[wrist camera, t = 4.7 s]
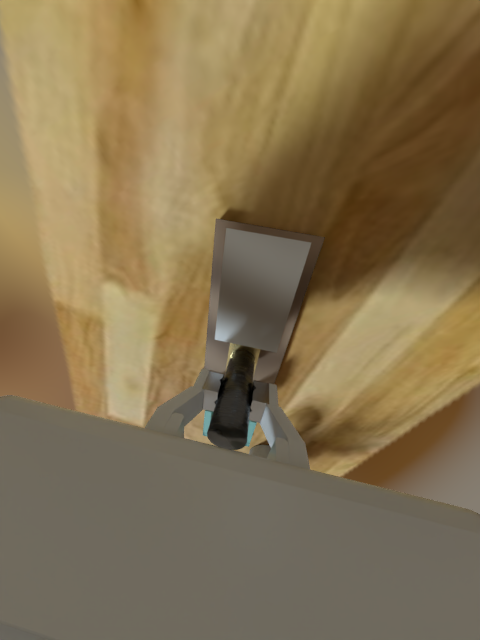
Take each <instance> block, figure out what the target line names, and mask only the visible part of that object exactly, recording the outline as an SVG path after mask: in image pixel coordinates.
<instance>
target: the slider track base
mask: <svg viewBox="0 0 480 640" xmlns="http://www.w3.org/2000/svg"><path fill="white" fill-rule="evenodd" d="M324 239H325V237H320V236H314V235H308V234H303V233H297V232H291V231H285V230H279V229H273V228H268V227H262V226H256V225H250V224H244V223H239V222H233V221H227V220H221V219H216V225H215V237H214V250H213V263H212V276H211V289H210V302H209V315H208V328H207V341H206V354H205V367H204V369H208V370H212V371H216V372H220V373H224V376H225V372H226V365H227V359H228V352H229V346H230V343H233V344H238V345H243V346H247V347H252V348H257V349H261V350H260V353H259V357H258V361H257V365H256V369H255V373H254V376H253V381H254V380H256V381H261V382H266V383H270V384H274V383H275V380H276V377H277V374H278V371H279V368H280V365H281V362H282V360H283V357H284V354H285V351H286V348H287V345H288V342H289V339H290V337H291V334H292V331H293V328H294V325H295V322H296V319H297V316H298V314H299V311H300V308H301V305H302V302H303V299H304V296H305V293H306V290H307V288H308V285H309V282H310V279H311V276H312V273H313V270H314V267H315V265H316V262H317V259H318V256H319V253H320V250H321V247H322V244H323V242H324Z"/></svg>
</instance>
